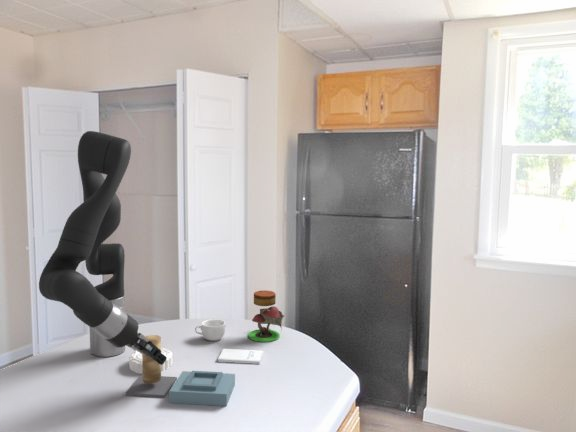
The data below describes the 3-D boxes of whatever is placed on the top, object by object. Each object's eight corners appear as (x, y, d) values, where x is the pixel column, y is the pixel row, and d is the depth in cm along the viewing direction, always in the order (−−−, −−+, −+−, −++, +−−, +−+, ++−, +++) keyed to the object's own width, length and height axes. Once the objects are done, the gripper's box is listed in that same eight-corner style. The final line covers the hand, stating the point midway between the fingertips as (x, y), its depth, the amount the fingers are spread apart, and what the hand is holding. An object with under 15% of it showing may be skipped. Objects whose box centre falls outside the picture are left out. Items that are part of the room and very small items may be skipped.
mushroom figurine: (271, 346, 150) (271, 300, 148) (239, 338, 157) (240, 294, 155) (290, 335, 160) (291, 292, 158) (260, 327, 167) (261, 286, 165)
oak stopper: (139, 383, 119) (139, 341, 118) (146, 375, 123) (146, 334, 122) (157, 384, 119) (157, 342, 117) (163, 376, 123) (163, 335, 122)
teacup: (225, 334, 160) (225, 318, 159) (225, 342, 152) (225, 326, 152) (195, 335, 159) (195, 319, 158) (194, 343, 151) (194, 327, 150)
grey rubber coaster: (125, 395, 117) (125, 393, 117) (140, 377, 127) (140, 375, 127) (164, 397, 116) (164, 395, 116) (177, 379, 126) (176, 377, 126)
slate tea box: (169, 402, 113) (169, 387, 113) (182, 382, 124) (182, 367, 124) (226, 406, 112) (226, 390, 112) (234, 384, 123) (235, 370, 123)
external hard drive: (223, 353, 146) (263, 355, 145) (217, 364, 137) (259, 366, 136) (223, 348, 145) (263, 349, 144) (217, 358, 137) (259, 360, 136)
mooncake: (181, 365, 135) (181, 353, 135) (143, 379, 126) (143, 366, 126) (157, 353, 143) (157, 342, 143) (121, 365, 134) (120, 353, 134)
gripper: (139, 317, 109) (183, 353, 119) (109, 304, 118) (152, 338, 128) (118, 346, 105) (165, 380, 115) (89, 330, 115) (134, 363, 125)
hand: (158, 358), depth 122 cm, fingers closed on oak stopper, 4 cm apart
